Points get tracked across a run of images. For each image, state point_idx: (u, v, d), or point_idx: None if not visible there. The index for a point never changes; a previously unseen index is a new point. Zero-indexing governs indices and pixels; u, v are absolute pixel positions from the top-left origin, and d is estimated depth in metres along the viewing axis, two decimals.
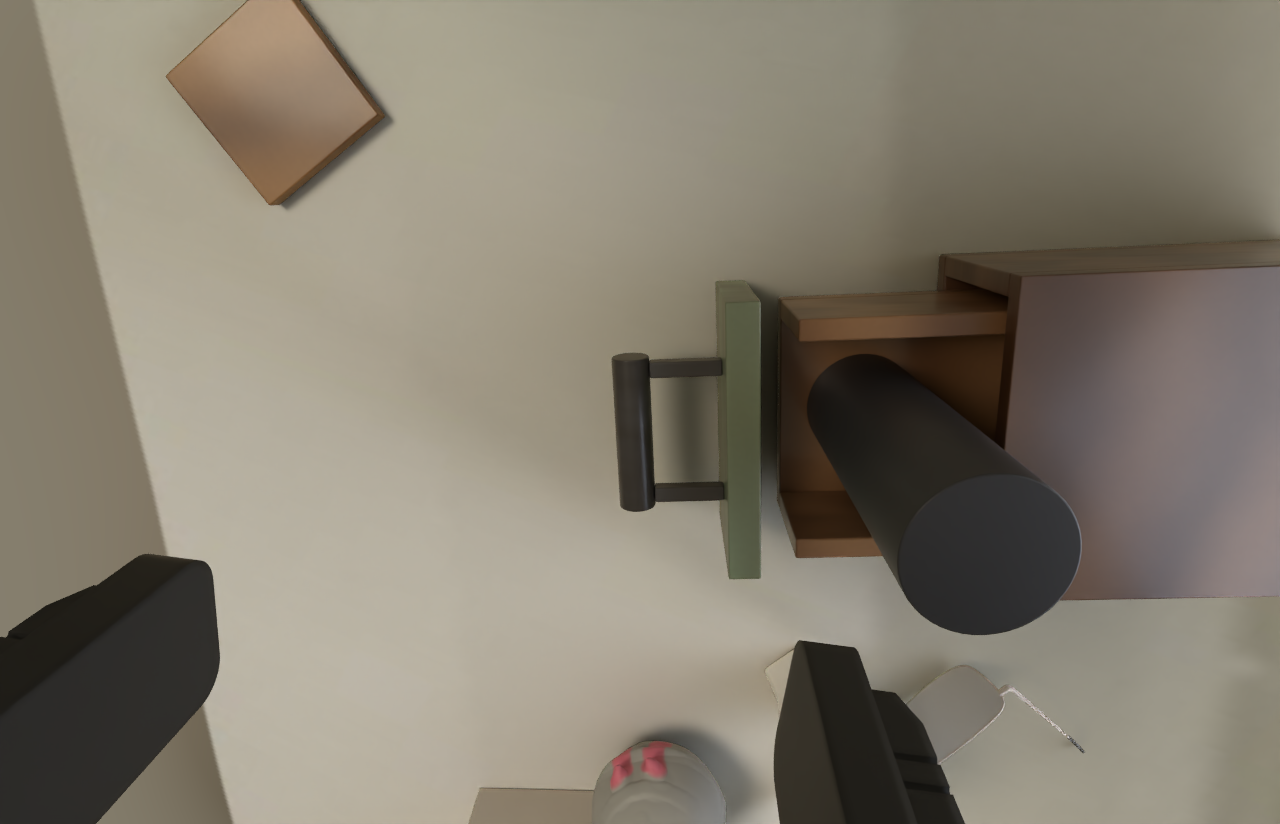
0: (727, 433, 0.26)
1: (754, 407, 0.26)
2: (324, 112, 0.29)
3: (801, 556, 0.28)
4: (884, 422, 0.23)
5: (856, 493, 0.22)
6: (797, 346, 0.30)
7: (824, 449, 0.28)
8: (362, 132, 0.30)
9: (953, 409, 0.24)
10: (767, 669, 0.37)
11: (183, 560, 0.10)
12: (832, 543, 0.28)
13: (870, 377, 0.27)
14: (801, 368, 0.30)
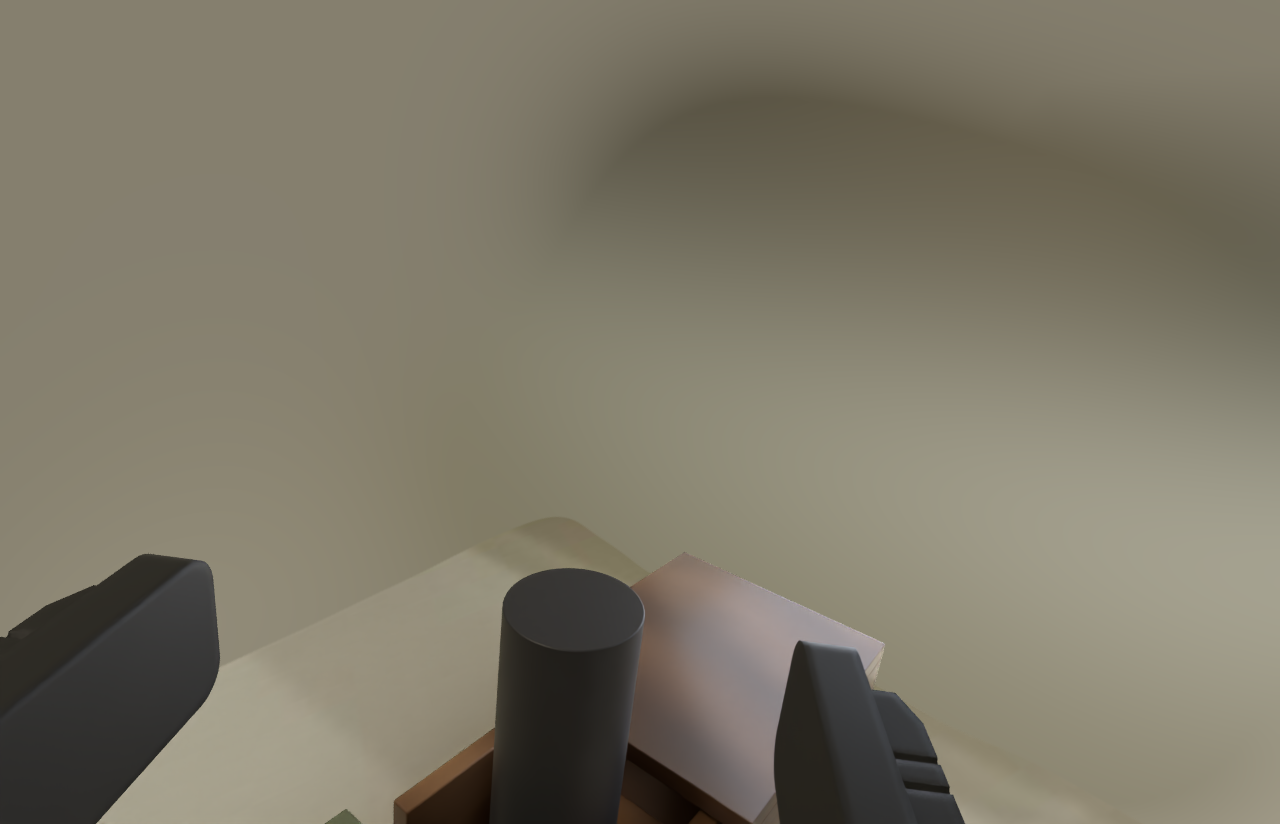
0: None
1: None
2: None
3: None
4: None
5: (517, 755, 0.23)
6: None
7: None
8: None
9: None
10: None
11: (183, 560, 0.10)
12: None
13: None
14: None
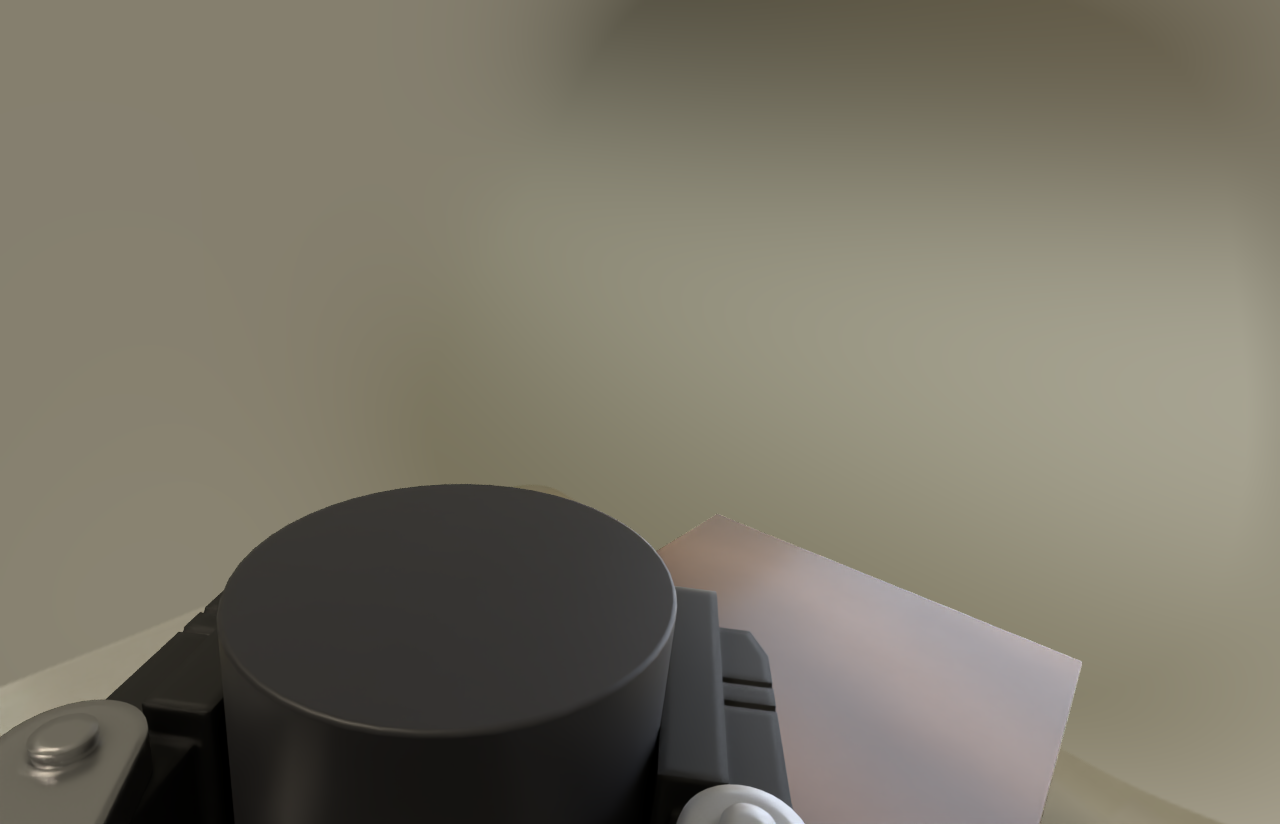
0: None
1: None
2: None
3: None
4: None
5: None
6: None
7: None
8: None
9: None
10: None
11: None
12: None
13: None
14: None
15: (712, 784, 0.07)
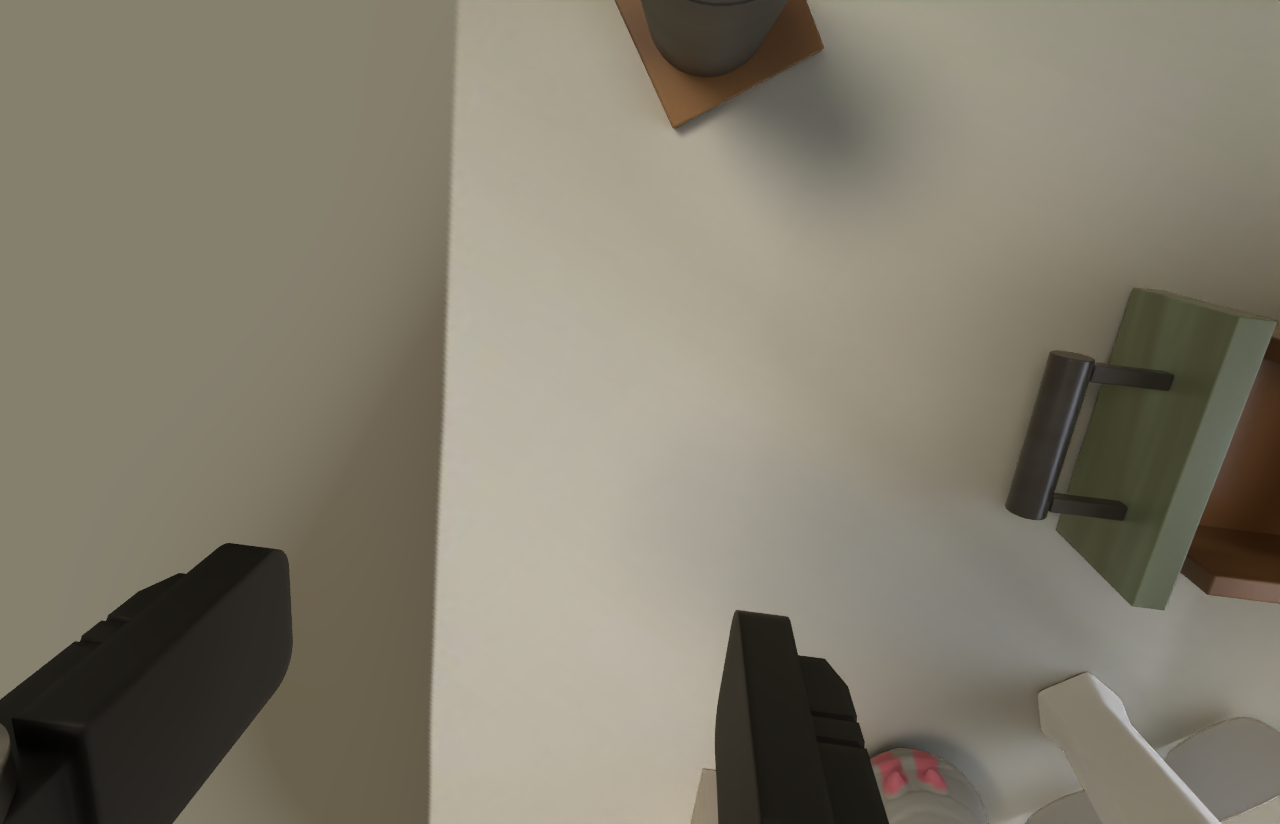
0: (1187, 455, 0.24)
1: (1227, 432, 0.24)
2: None
3: (1213, 593, 0.26)
4: None
5: None
6: None
7: None
8: (794, 64, 0.27)
9: None
10: (1042, 693, 0.35)
11: (264, 549, 0.10)
12: (1251, 585, 0.26)
13: None
14: None
15: None
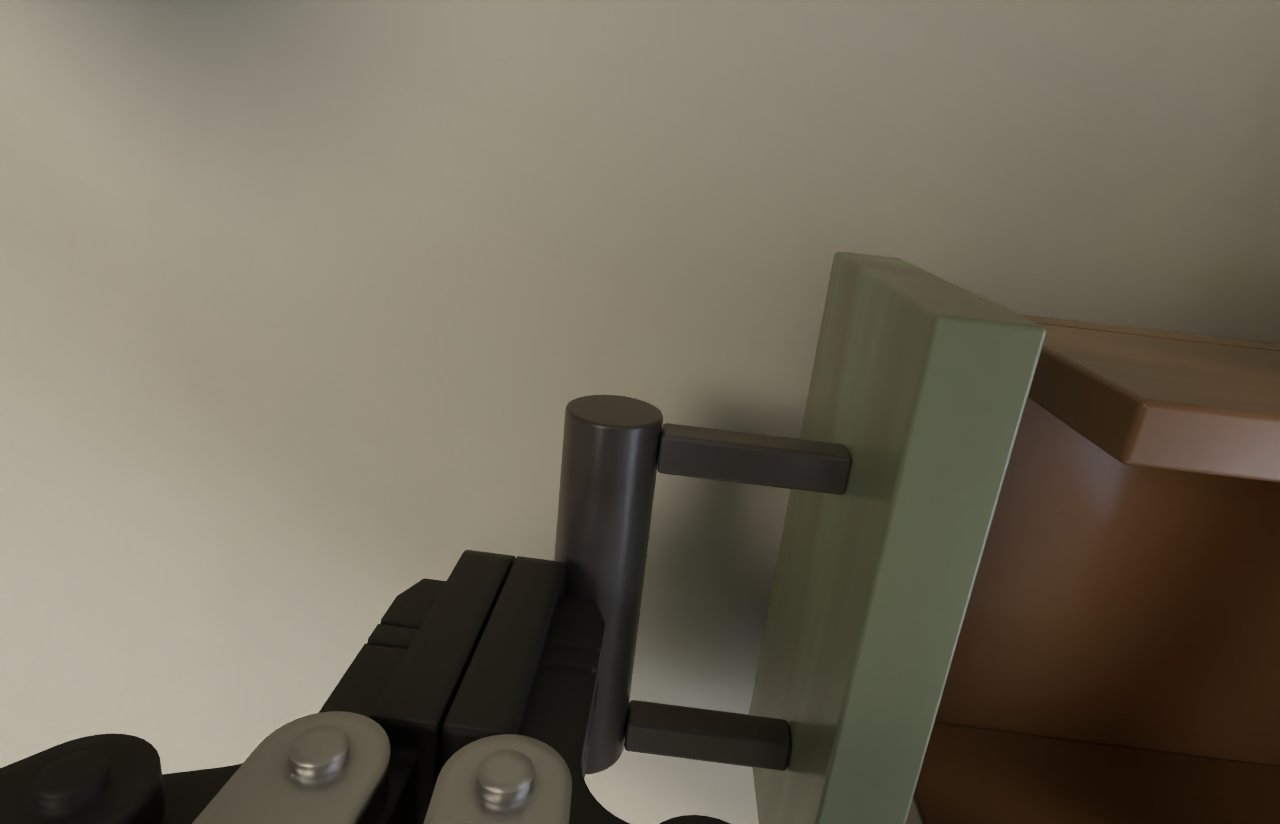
0: (851, 675, 0.09)
1: (944, 624, 0.09)
2: None
3: None
4: None
5: None
6: None
7: None
8: None
9: None
10: None
11: (503, 555, 0.11)
12: None
13: None
14: None
15: (495, 735, 0.07)
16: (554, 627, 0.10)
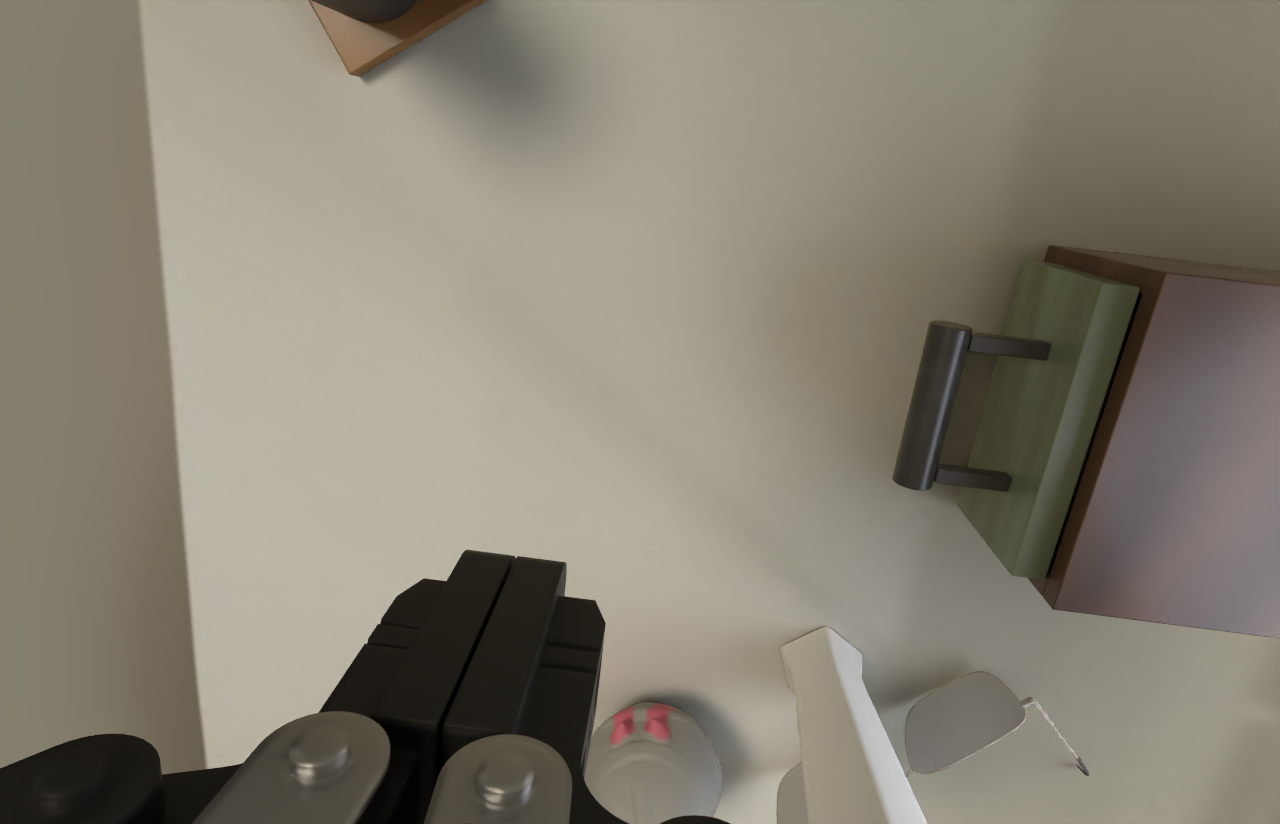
0: (1058, 423, 0.24)
1: (1097, 400, 0.24)
2: None
3: None
4: None
5: None
6: None
7: None
8: (464, 10, 0.27)
9: None
10: (784, 647, 0.35)
11: (503, 555, 0.11)
12: None
13: None
14: None
15: (495, 735, 0.07)
16: (554, 627, 0.10)
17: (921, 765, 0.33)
